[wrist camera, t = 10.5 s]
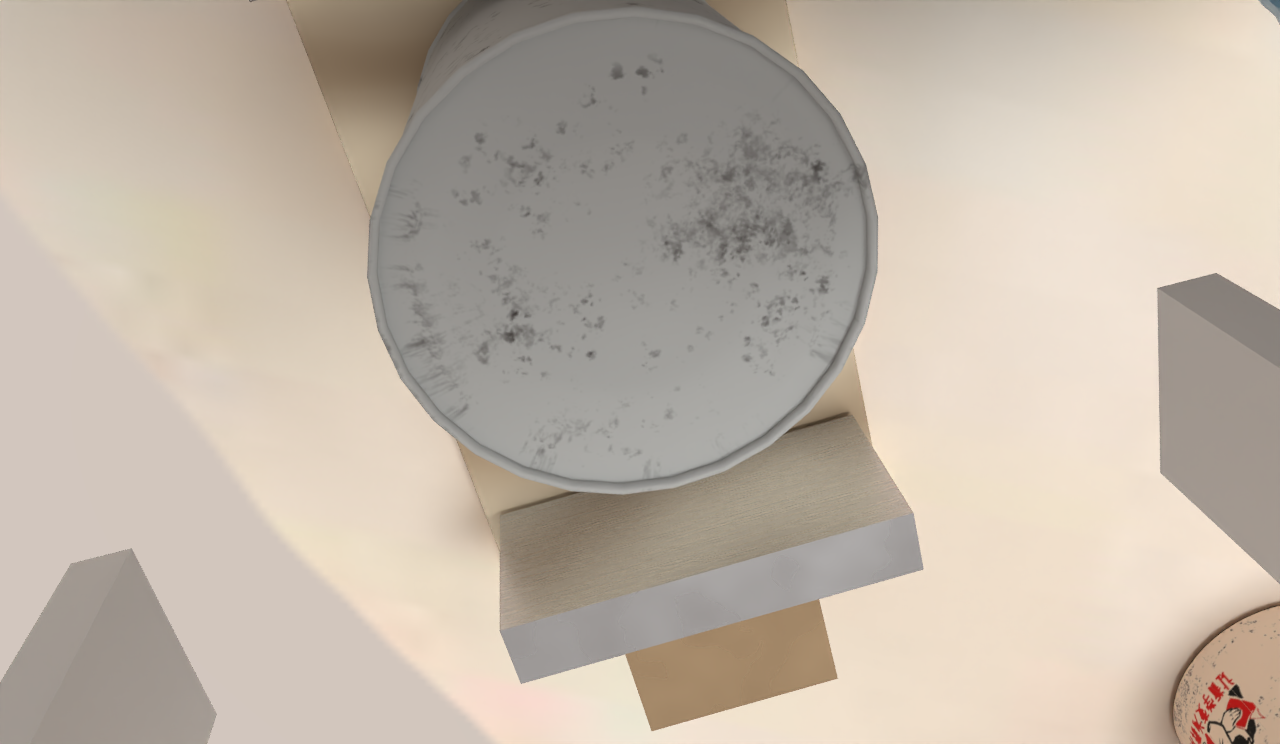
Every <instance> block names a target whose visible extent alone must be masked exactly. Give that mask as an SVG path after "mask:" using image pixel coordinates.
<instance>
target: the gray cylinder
mask: <svg viewBox="0 0 1280 744" xmlns="http://www.w3.org/2000/svg"><path fill="white" fill-rule="evenodd" d="M877 263H878V215H877V211H876V207H875V202H874V198H873V194H872V189H871V185H870V181H869V176H868V172H867V167H866V164H865V162H864V160H863V158H862V156H861V154H860V152H859V150H858V148H857V146H856V144H855V142H854V140H853V138H852V136H851V134H850V132H849V130H848V128H847V126H846V124H845V122H844V120H843V118H842V116H841V114H840V113H839V112H838V111H837V110H836V108H835V107H834V106H833V105H832V104H831V103H830V101H829V100H828V99H827V98H826V97H825V96H824V94H823V93H822V92H821V91H820V90H819V89H818V88H817V86H816V85H815V84H814V83H813V82H812V81H811V79H810V78H809V77H808V76H807V75H806V74H805V72H804V71H803V70H801V69H800V68H799V67H797V66H796V65H794V64H793V63H791V62H790V61H789V60H787V59H786V58H784V57H783V56H782V55H780V54H779V53H777V52H776V51H774V50H773V49H772V48H770V47H769V46H767V45H766V44H765V43H763V42H762V41H760V40H759V39H758V38H756V37H755V36H753V35H751V34H748V33H746V32H743V31H742V30H740V29H739V28H738V27H737V26H735V25H734V24H733V23H731V22H730V21H729V20H728V19H726V18H725V17H724V16H722V15H721V14H720V13H718V12H717V11H716V10H715V9H713V8H712V7H711V6H709V4H708V3H707V2H706V1H705V0H462V2H461V3H460V4H459V5H458V6H457V7H456V8H455V9H454V10H453V11H452V12H451V13H450V14H449V15H448V17H447V19H446V20H445V22H444V24H443V26H442V27H441V29H440V31H439V33H438V34H437V36H436V38H435V39H434V41H433V43H432V45H431V46H430V48H429V50H428V53H427V56H426V60H425V63H424V67H423V70H422V73H421V77H420V80H419V83H418V87H417V95H416V98H415V101H414V103H413V106H412V109H411V112H410V115H409V118H408V120H407V123H406V126H405V129H404V132H403V135H402V137H401V139H400V140H399V142H398V144H397V145H396V147H395V149H394V151H393V152H392V154H391V156H390V157H389V159H388V161H387V163H386V166H385V170H384V173H383V176H382V180H381V183H380V187H379V190H378V193H377V197H376V200H375V204H374V207H373V210H372V214H371V217H370V224H369V247H368V270H367V278H368V283H369V288H370V293H371V298H372V303H373V308H374V313H375V317H376V322H377V327H378V331H379V333H380V335H381V338H382V340H383V342H384V344H385V346H386V348H387V350H388V353H389V355H390V357H391V359H392V361H393V363H394V365H395V368H396V370H397V372H398V374H399V376H400V378H401V380H402V381H403V382H404V384H405V385H406V386H407V387H408V389H409V390H410V391H411V393H412V394H413V395H414V396H415V398H416V399H417V400H418V401H419V403H420V404H421V405H422V407H423V408H424V409H425V410H426V412H427V413H428V414H429V415H430V417H431V418H432V419H433V421H435V422H436V423H437V424H438V425H440V426H441V427H442V428H443V429H444V430H446V431H447V432H448V433H449V434H451V435H452V436H453V437H454V438H456V439H457V440H458V441H459V442H460V443H462V444H463V445H464V446H465V447H467V448H468V449H469V450H470V451H472V452H473V453H474V454H476V455H477V456H479V457H481V458H483V459H485V460H487V461H489V462H491V463H493V464H495V465H497V466H499V467H501V468H503V469H505V470H507V471H509V472H511V473H513V474H515V475H517V476H519V477H521V478H524V479H528V480H532V481H536V482H539V483H543V484H547V485H550V486H554V487H558V488H561V489H565V490H569V491H576V492H591V493H607V494H622V495H624V494H632V493H639V492H647V491H655V490H663V489H670V488H676V487H679V486H682V485H685V484H688V483H691V482H694V481H697V480H700V479H703V478H706V477H709V476H712V475H715V474H718V473H721V472H724V471H726V470H728V469H730V468H732V467H733V466H735V465H737V464H739V463H740V462H742V461H744V460H746V459H748V458H749V457H751V456H753V455H755V454H756V453H758V452H760V451H762V450H764V449H765V448H767V447H769V446H770V445H772V444H773V443H774V442H775V441H776V440H777V439H779V438H780V437H781V436H782V435H783V434H784V433H786V432H787V431H788V430H789V429H790V428H791V427H793V426H794V425H795V424H796V423H797V422H798V421H800V420H801V419H802V418H803V417H804V416H805V415H807V414H808V413H809V412H810V411H811V409H812V408H813V407H814V406H815V404H816V403H817V402H818V401H819V399H820V398H821V397H822V395H823V394H824V393H825V392H826V390H827V389H828V388H829V386H830V385H831V384H832V383H833V381H834V380H835V379H836V377H837V376H838V375H839V374H840V372H841V371H842V369H843V367H844V365H845V363H846V361H847V359H848V357H849V355H850V353H851V351H852V349H853V347H854V345H855V343H856V340H857V338H858V336H859V334H860V332H861V330H862V328H863V326H864V324H865V320H866V316H867V312H868V308H869V304H870V300H871V296H872V291H873V287H874V283H875V279H876V275H877Z"/></svg>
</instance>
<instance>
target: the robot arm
mask: <svg viewBox="0 0 1280 744" xmlns="http://www.w3.org/2000/svg"><path fill="white" fill-rule="evenodd" d="M1259 1H1260V3H1261V4H1262V5H1263V6H1264V7H1265V8H1267V9H1268V10H1269V11H1270V12H1271V13H1272V14H1273V15H1274V16H1275V17H1276V18H1277V20H1278V22H1279V24H1280V0H1259ZM1157 292H1158V353H1159V414H1160V473H1161V474H1162V475H1163V476H1165V477H1166V478H1167V479H1168V480H1169V481H1170V482H1171V483H1172V484H1173V485H1174V486H1175V487H1176V488H1177V489H1178V490H1180V491H1181V492H1182V493H1183V494H1184V495H1185V496H1186V497H1187V498H1188V499H1189V500H1190V501H1191V502H1192V503H1194V504H1195V505H1196V506H1197V507H1198V508H1199V509H1200V510H1201V511H1202V512H1203V513H1204V514H1205V515H1206V516H1208V517H1209V518H1210V519H1211V520H1212V521H1213V522H1214V523H1215V524H1216V525H1217V526H1218V527H1219V528H1220V529H1221V530H1223V531H1224V532H1225V533H1226V534H1227V535H1228V536H1229V537H1230V538H1231V539H1232V540H1233V541H1234V542H1235V543H1237V544H1238V545H1239V546H1240V547H1241V548H1242V549H1243V550H1244V551H1245V552H1246V553H1247V554H1248V555H1249V556H1250V557H1252V558H1253V559H1254V560H1255V561H1256V562H1257V563H1258V564H1259V565H1260V566H1261V567H1262V568H1263V569H1264V570H1266V571H1267V572H1268V573H1269V574H1270V575H1271V576H1272V577H1273V578H1274V579H1275V580H1276V581H1277V582H1278V583H1279V584H1280V310H1279V309H1277V308H1276V307H1274V306H1272V305H1271V304H1269V303H1267V302H1265V301H1264V300H1262V299H1260V298H1259V297H1257V296H1255V295H1253V294H1252V293H1250V292H1248V291H1246V290H1245V289H1243V288H1241V287H1240V286H1238V285H1236V284H1234V283H1233V282H1231V281H1229V280H1228V279H1226V278H1224V277H1222V276H1221V275H1219V274H1217V273H1215V274H1211V275H1207V276H1203V277H1199V278H1195V279H1191V280H1187V281H1183V282H1179V283H1175V284H1172V285H1168V286H1164V287H1160V288H1157ZM215 718H216V712H215V711H214V708H213V706H212V704H211V702H210V700H209V698H208V697H207V695H206V693H205V691H204V689H203V687H202V685H201V683H200V681H199V679H198V677H197V675H196V673H195V671H194V669H193V667H192V666H191V664H190V661H189V659H188V657H187V656H186V654H185V652H184V650H183V648H182V646H181V644H180V642H179V640H178V638H177V636H176V634H175V633H174V630H173V628H172V626H171V625H170V622H169V621H168V619H167V617H166V615H165V613H164V611H163V609H162V607H161V605H160V603H159V601H158V599H157V597H156V595H155V593H154V591H153V589H152V587H151V585H150V583H149V582H148V579H147V578H146V576H145V574H144V572H143V570H142V568H141V566H140V564H139V562H138V560H137V558H136V556H135V554H134V552H133V550H132V549H128V550H123V551H119V552H116V553H112V554H108V555H104V556H100V557H96V558H92V559H88V560H84V561H80V562H77V563H72V564H71V565H70V566H69V568H68V570H67V571H66V573H65V575H64V576H63V578H62V580H61V582H60V583H59V585H58V586H57V588H56V590H55V592H54V593H53V595H52V597H51V598H50V600H49V602H48V603H47V605H46V607H45V608H44V610H43V612H42V613H41V615H40V617H39V618H38V620H37V622H36V623H35V625H34V627H33V629H32V630H31V632H30V633H29V635H28V637H27V639H26V640H25V642H24V644H23V645H22V647H21V649H20V651H19V652H18V654H17V655H16V657H15V659H14V660H13V662H12V664H11V665H10V667H9V669H8V670H7V672H6V674H5V675H4V677H3V679H2V680H1V682H0V744H207V743H208V739H209V736H210V733H211V730H212V727H213V724H214V721H215Z"/></svg>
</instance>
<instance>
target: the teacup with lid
mask: <svg viewBox="0 0 1280 744" xmlns="http://www.w3.org/2000/svg"><path fill="white" fill-rule="evenodd" d="M1173 718H1174V725H1175V729H1176V733H1177V735H1178V738H1179V740H1180V742H1181V743H1182V744H1280V606H1277V607H1273V608H1269V609H1266V610H1263V611H1260V612H1258V613H1255V614H1253V615H1251V616H1249V617H1247V618H1244V619H1242V620H1241V621H1239V622H1237V623H1235V624H1234V625H1232V626H1230V627H1229V628H1227V629H1226V630H1224V631H1223V632H1222V633H1220V634H1219V635H1218V636H1217V637H1215V638H1214V639H1213V640H1212V641H1211V642H1210V643H1208V644H1207V645H1206V646H1205V647H1204V648H1203V649H1202V651H1201V652H1200V653H1199V654H1198V655H1197V656H1196V657H1195V659H1194V660H1193V661H1192V663H1191V664H1190V666H1189V667H1188V669H1187V670H1186V672H1185V674H1184V675H1183V677H1182V680H1181V682H1180V684H1179V687H1178V689H1177V693H1176V697H1175V701H1174V708H1173Z"/></svg>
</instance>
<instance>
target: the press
mask: <svg viewBox="0 0 1280 744" xmlns="http://www.w3.org/2000/svg"><path fill="white" fill-rule="evenodd" d="M249 1H250V2H252V1H255V0H249ZM286 1H287V4H288V6H289V9H290V11H291V14H292V16H293V19H294V22H295V24H296V27H297V29H298V32H299V35H300V37H301V40H302V42H303V45H304V47H305V50H306V53H307V55H308V58H309V60H310V63H311V65H312V68H313V71H314V73H315V76H316V78H317V81H318V84H319V86H320V89H321V91H322V94H323V96H324V99H325V102H326V104H327V107H328V109H329V112H330V115H331V117H332V120H333V122H334V125H335V127H336V130H337V133H338V135H339V138H340V140H341V143H342V146H343V148H344V151H345V153H346V156H347V158H348V161H349V164H350V166H351V169H352V171H353V174H354V177H355V179H356V182H357V184H358V187H359V189H360V192H361V195H362V197H363V200H364V202H365V205H366V208H367V210H368V213H369V215H370V217H371V214H372V210H373V207H374V204H375V200H376V197H377V193H378V190H379V187H380V183H381V180H382V176H383V173H384V170H385V166H386V163H387V161H388V159H389V157H390V156H391V154H392V152H393V151H394V149H395V147H396V145H397V144H398V142H399V140H400V139H401V137H402V135H403V132H404V129H405V126H406V123H407V120H408V118H409V115H410V112H411V109H412V106H413V103H414V101H415V98H416V95H417V87H418V83H419V80H420V77H421V73H422V70H423V67H424V63H425V60H426V56H427V53H428V50H429V48H430V46H431V45H432V43H433V41H434V39H435V38H436V36H437V34H438V33H439V31H440V29H441V27H442V26H443V24H444V22H445V20H446V19H447V17H448V15H449V14H450V13H451V12H452V11H453V10H454V9H455V8H456V7H457V6H458V5H459V4H460V3H461V2H462V0H286ZM705 1H706V2H707V3H708V4H709V6H711V7H712V8H713V9H715V10H716V11H717V12H718V13H720V14H721V15H722V16H724V17H725V18H726V19H728V20H729V21H730V22H731V23H733V24H734V25H735V26H737V27H738V28H739V29H740V30H742V31H743V32H746V33H748V34H751V35H753V36H755V37H756V38H758V39H759V40H760V41H762V42H763V43H765V44H766V45H767V46H769V47H770V48H772V49H773V50H774V51H776V52H777V53H779V54H780V55H782V56H783V57H784V58H786V59H787V60H789V61H790V62H791V63H793V64H794V65H796V66H797V67H799V66H798V60H797V55H796V50H795V45H794V40H793V35H792V29H791V24H790V19H789V14H788V9H787V4H786V0H705ZM849 415H853V416H854V418H855V419H856V421H857V423H858V424H859V426H860V428H861V429H862V431H863V432H864V434H865V436H866V437H867V439H868V440H869V442H870V444H871V445H872V442H871V437H870V432H869V427H868V422H867V417H866V411H865V406H864V401H863V396H862V391H861V386H860V380H859V375H858V370H857V365H856V360H855V355H854V349H852V351H851V353H850V355H849V357H848V359H847V361H846V363H845V365H844V367H843V369H842V371H841V372H840V374H839V375H838V376H837V377H836V379H835V380H834V381H833V383H832V384H831V385H830V386H829V388H828V389H827V390H826V392H825V393H824V394H823V395H822V397H821V398H820V399H819V401H818V402H817V403H816V404H815V406H814V407H813V408H812V409H811V411H810V412H809V413H808V414H807V415H805V416H804V417H803V418H802V419H801V420H800V421H798V422H797V423H796V424H795V425H794V426H793V427H791V428H790V429H789V430H788V431H787V432H786V433H790V432H793V431H797V430H800V429H804V428H807V427H811V426H814V425H817V424H821V423H824V422H828V421H831V420H835V419H838V418H842V417H845V416H849ZM786 433H784V434H786ZM456 440H457V439H456ZM457 443H458V445H459V448H460V450H461V453H462V455H463V458H464V461H465V463H466V466H467V468H468V471H469V473H470V476H471V479H472V481H473V484H474V486H475V489H476V492H477V494H478V497H479V499H480V502H481V504H482V507H483V510H484V512H485V515H486V517H487V520H488V523H489V525H490V528H491V530H492V533H493V535H494V538H495V541H496V543H497V546H498V548H499V551H500V515H503V514H506V513H510V512H513V511H517V510H520V509H524V508H527V507H531V506H534V505H538V504H541V503H545V502H548V501H552V500H555V499H559V498H562V497H566V496H569V495H573V494H576V493H580V492H576V491H569V490H565V489H561V488H558V487H554V486H550V485H547V484H543V483H539V482H536V481H532V480H528V479H524V478H521V477H519V476H517V475H515V474H513V473H511V472H509V471H507V470H505V469H503V468H501V467H499V466H497V465H495V464H493V463H491V462H489V461H487V460H485V459H483V458H481V457H479V456H477V455H476V454H474V453H473V452H472V451H470V450H469V449H468V448H467V447H465V446H464V445H463V444H462V443H460V442H459V441H458V440H457Z"/></svg>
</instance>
